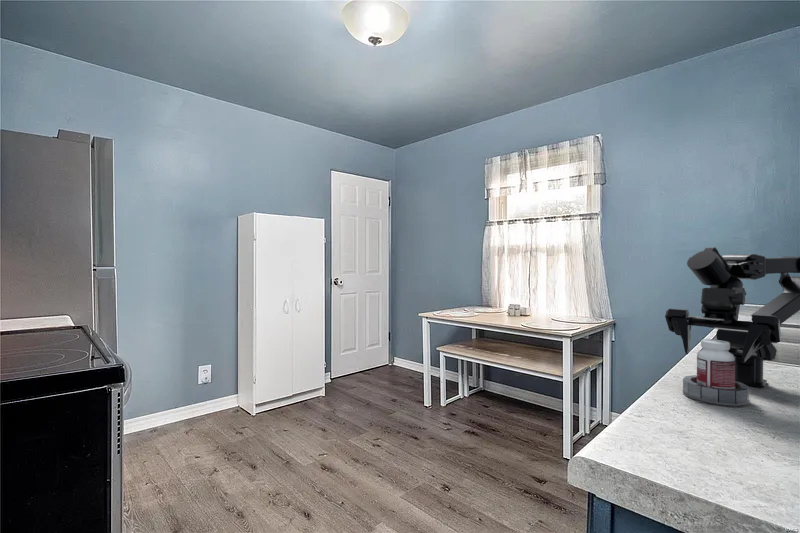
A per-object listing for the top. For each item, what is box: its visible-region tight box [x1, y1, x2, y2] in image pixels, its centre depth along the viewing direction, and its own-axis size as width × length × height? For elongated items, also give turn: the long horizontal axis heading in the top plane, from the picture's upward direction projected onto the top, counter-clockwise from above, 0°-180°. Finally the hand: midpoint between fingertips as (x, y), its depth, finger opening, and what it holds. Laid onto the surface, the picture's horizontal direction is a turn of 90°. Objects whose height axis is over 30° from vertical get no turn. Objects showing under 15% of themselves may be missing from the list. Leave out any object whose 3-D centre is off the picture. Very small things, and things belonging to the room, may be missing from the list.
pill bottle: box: [696, 338, 735, 389], centre depth 82 cm, size 6×6×11 cm
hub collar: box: [682, 374, 751, 408], centre depth 82 cm, size 11×11×3 cm
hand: (713, 356), depth 81 cm, fingers open, 9 cm apart
